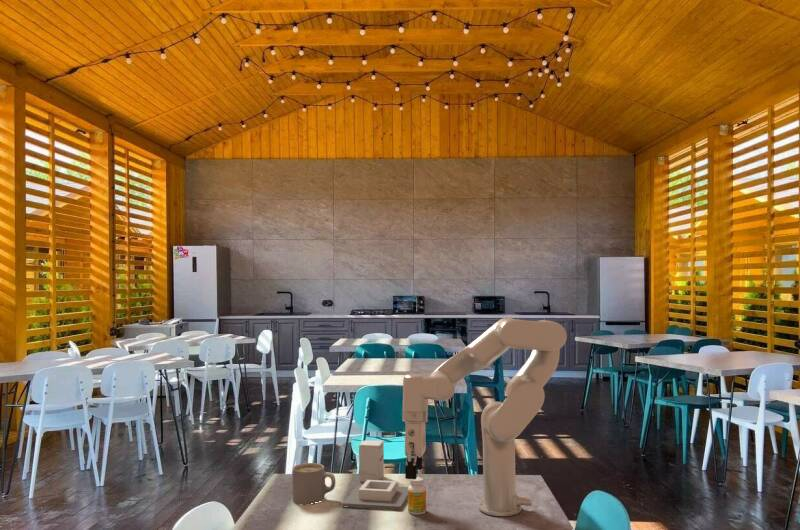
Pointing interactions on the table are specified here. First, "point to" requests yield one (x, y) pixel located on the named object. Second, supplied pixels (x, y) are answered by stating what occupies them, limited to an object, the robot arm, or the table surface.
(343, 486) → the table surface
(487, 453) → the robot arm
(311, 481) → the coffee mug
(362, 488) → the collar board
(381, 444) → the supplement box
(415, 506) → the supplement bottle
